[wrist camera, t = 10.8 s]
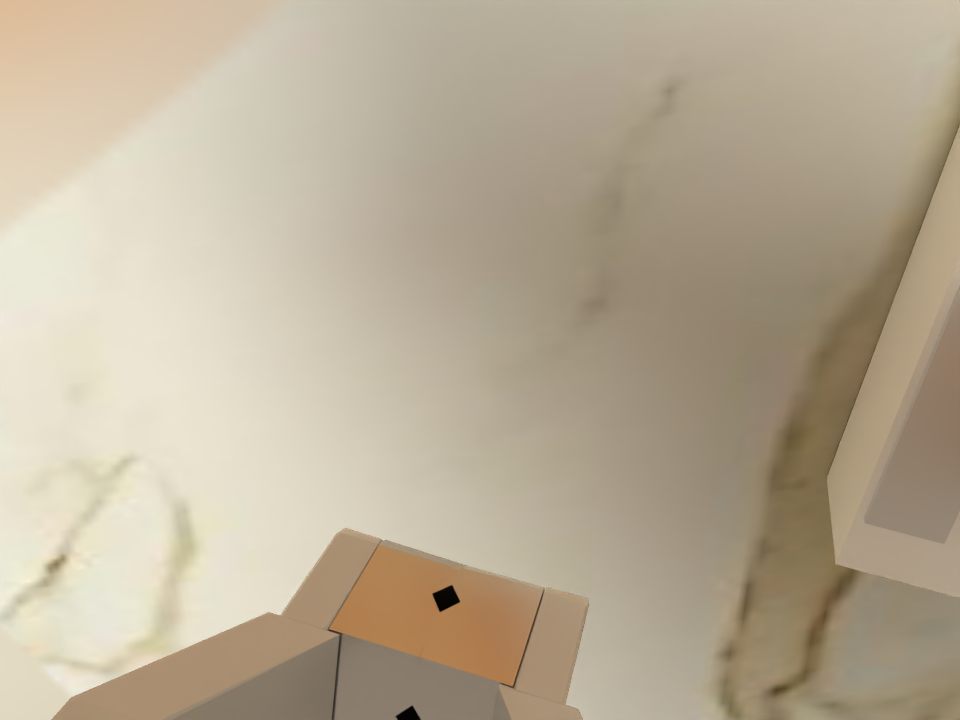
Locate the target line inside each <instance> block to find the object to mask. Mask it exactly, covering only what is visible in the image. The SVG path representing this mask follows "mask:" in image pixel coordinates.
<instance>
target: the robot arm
mask: <svg viewBox="0 0 960 720" xmlns="http://www.w3.org/2000/svg"><path fill="white" fill-rule="evenodd" d="M588 606H589V603H588V598H584V597H581V596H577V595H573V594H570V593H566V592H562V591H558V590H555V589H551V588H547V587H546V589H545V588H544V587H540V586H537V585H533V584H530V583H526V582H523V581H519V580H516V579H512V578H509V577H505V576H502V575H498V574H495V573H491V572H488V571H484V570H481V569H477V568H474V567H470V566H466V565H463V564H460V563H457V562H454V561H451V560H448V559H444V558H441V557H438V556H435V555H432V554H429V553H425V552H422V551H419V550H416V549H413V548H410V547H407V546H403V545H400V544H397V543H394V542H391V541H388V540H384V541H383V540H381V539H379V538H376V537H373V536H369V535H366V534H363V533H360V532H357V531H354V530H350V529H347V528H345V529H343V530H342V531H340V532H339V533H337V534H336V535H335V536H334V538H333V539H332V541H331V542H330V544H329V545H328V547H327V548H326V550H325V551H324V552H323V554H322V555H321V557H320V558H319V560H318V561H317V563H316V564H315V566H314V567H313V569H312V570H311V571H310V573H309V574H308V576H307V577H306V579H305V580H304V582H303V583H302V585H301V586H300V588H299V589H298V591H297V592H296V593H295V595H294V596H293V598H292V599H291V601H290V602H289V604H288V605H287V607H286V608H285V610H284V611H283V612H282V614H281V615H280V616H279V615H276V614H273V613H269V612H268V613H266V614H263V615H261V616H259V617H256V618H254V619H252V620H249V621H247V622H245V623H243V624H240V625H238V626H236V627H233V628H231V629H229V630H226V631H224V632H222V633H219V634H217V635H215V636H212V637H210V638H208V639H206V640H203V641H201V642H199V643H196V644H194V645H192V646H189V647H187V648H185V649H182V650H180V651H178V652H175V653H173V654H171V655H169V656H166V657H164V658H162V659H159V660H157V661H155V662H152V663H150V664H148V665H145V666H143V667H141V668H139V669H136V670H134V671H132V672H129V673H127V674H125V675H122V676H120V677H118V678H115V679H113V680H111V681H108V682H106V683H104V684H102V685H99V686H97V687H95V688H92V689H90V690H88V691H85V692H83V693H81V694H78V695H76V696H74V697H72V698H70V699H69V701H68V702H67V703H66V704H65V705H64V706H63V707H62V708H61V710H60V711H59V712H58V713H57V714H56V715H55V716H54V718H53V719H52V720H583V718H582V716H581V714H580V712H579V710H578V709H576V708H573V707H570V706H567V705H565V704H566V699H567V695H568V691H569V687H570V683H571V678H572V674H573V670H574V666H575V661H576V657H577V653H578V649H579V644H580V640H581V636H582V632H583V628H584V623H585V619H586V615H587V611H588Z"/></svg>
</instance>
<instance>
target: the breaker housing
mask: <svg viewBox="0 0 960 720" xmlns="http://www.w3.org/2000/svg"><path fill="white" fill-rule="evenodd" d="M827 486H828V495H829V505H830V514H831V524H832V533H833V543H834V552H835V561H836V565H840V566H844V567H847V568H851V569H855V570H858V571H862V572H866V573H869V574H873V575H877V576H880V577H884V578H887V579H891V580H895V581H898V582H902V583H906V584H909V585H913V586H917V587H920V588H924V589H928V590H931V591H935V592H939V593H942V594H946V595H950V596H953V597H957V598H960V126H959V128H958V131H957V133H956V136H955V139H954V141H953V144H952V147H951V149H950V152H949V155H948V157H947V160H946V163H945V165H944V168H943V171H942V173H941V176H940V179H939V181H938V184H937V187H936V189H935V192H934V195H933V197H932V200H931V203H930V205H929V208H928V210H927V213H926V216H925V218H924V221H923V224H922V226H921V229H920V232H919V234H918V237H917V240H916V242H915V245H914V248H913V250H912V253H911V256H910V258H909V261H908V264H907V266H906V269H905V272H904V274H903V277H902V279H901V282H900V285H899V287H898V290H897V293H896V295H895V298H894V301H893V303H892V306H891V309H890V311H889V314H888V317H887V319H886V322H885V325H884V327H883V330H882V333H881V335H880V338H879V341H878V343H877V346H876V349H875V351H874V354H873V356H872V359H871V362H870V364H869V367H868V370H867V372H866V375H865V378H864V380H863V383H862V386H861V388H860V391H859V394H858V396H857V399H856V402H855V404H854V407H853V410H852V412H851V415H850V418H849V420H848V423H847V426H846V428H845V431H844V433H843V436H842V439H841V441H840V444H839V447H838V449H837V452H836V455H835V457H834V460H833V463H832V465H831V468H830V471H829V473H828V476H827Z"/></svg>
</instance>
